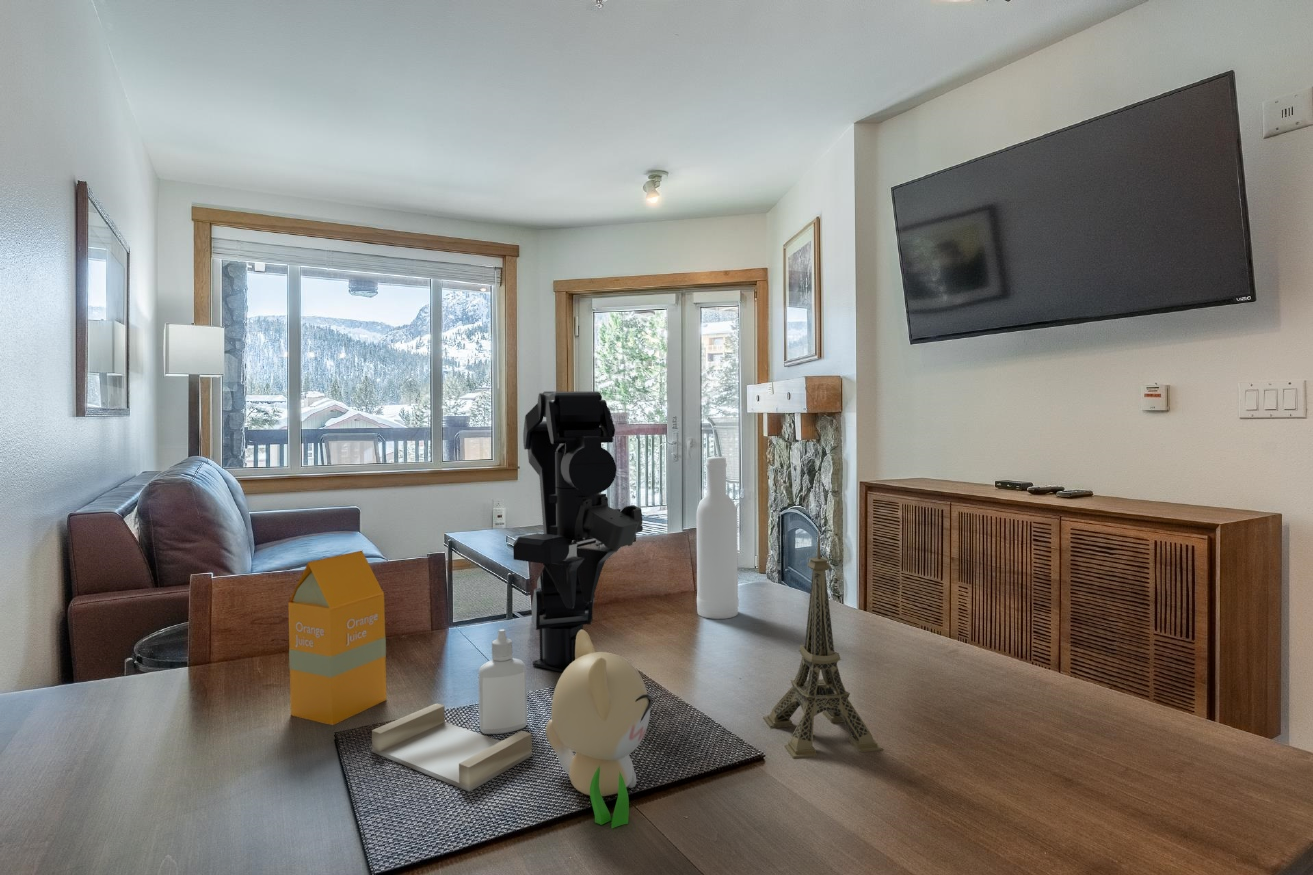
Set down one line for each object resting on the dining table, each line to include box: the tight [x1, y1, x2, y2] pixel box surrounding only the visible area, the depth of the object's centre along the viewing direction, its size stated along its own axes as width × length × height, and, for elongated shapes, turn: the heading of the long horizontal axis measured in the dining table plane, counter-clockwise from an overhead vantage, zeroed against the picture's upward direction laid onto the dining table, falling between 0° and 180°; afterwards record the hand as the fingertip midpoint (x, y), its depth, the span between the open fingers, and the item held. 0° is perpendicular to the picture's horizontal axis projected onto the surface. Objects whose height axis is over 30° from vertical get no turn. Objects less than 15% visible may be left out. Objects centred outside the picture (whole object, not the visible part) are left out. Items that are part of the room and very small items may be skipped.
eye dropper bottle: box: [478, 628, 528, 735], centre depth 86 cm, size 4×6×12 cm
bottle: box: [696, 456, 739, 620], centre depth 135 cm, size 8×8×30 cm
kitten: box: [545, 629, 653, 829], centre depth 71 cm, size 15×10×15 cm, turn 17°
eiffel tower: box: [762, 523, 884, 759], centre depth 84 cm, size 11×11×25 cm
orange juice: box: [287, 550, 387, 726], centre depth 93 cm, size 8×9×20 cm
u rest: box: [371, 703, 533, 792], centre depth 80 cm, size 16×9×2 cm, turn 56°
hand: (579, 604), depth 93 cm, fingers open, 3 cm apart
